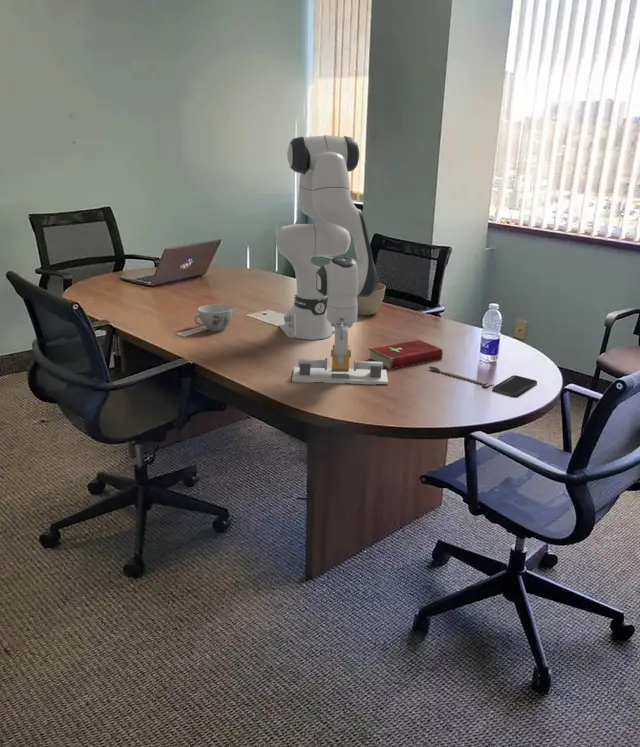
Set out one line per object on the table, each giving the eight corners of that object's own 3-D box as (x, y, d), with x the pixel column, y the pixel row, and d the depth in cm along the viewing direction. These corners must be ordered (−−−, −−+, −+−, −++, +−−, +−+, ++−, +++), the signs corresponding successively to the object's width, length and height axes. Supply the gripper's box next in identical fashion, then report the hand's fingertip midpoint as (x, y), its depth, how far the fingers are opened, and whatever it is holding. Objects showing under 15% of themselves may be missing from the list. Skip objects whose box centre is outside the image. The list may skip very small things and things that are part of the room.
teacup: (222, 322, 251) (221, 301, 248) (240, 330, 242) (239, 308, 239) (186, 329, 242) (185, 307, 239) (203, 337, 233) (202, 315, 230)
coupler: (330, 368, 196) (331, 349, 194) (330, 363, 200) (331, 344, 198) (350, 368, 196) (351, 349, 194) (350, 364, 199) (350, 345, 197)
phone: (491, 388, 191) (513, 374, 202) (490, 391, 192) (513, 378, 202) (516, 395, 186) (538, 381, 197) (516, 399, 187) (538, 384, 198)
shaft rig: (292, 381, 195) (292, 363, 193) (294, 370, 204) (294, 352, 202) (387, 384, 194) (389, 366, 192) (386, 372, 203) (387, 354, 201)
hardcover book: (442, 360, 217) (443, 348, 215) (390, 371, 206) (391, 358, 205) (418, 349, 226) (419, 338, 225) (368, 359, 216) (368, 347, 214)
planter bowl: (335, 311, 269) (336, 285, 265) (364, 305, 279) (365, 279, 275) (364, 320, 258) (365, 292, 254) (392, 313, 268) (394, 286, 264)
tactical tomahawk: (497, 386, 198) (498, 382, 197) (486, 390, 193) (486, 386, 193) (438, 367, 211) (439, 363, 211) (426, 370, 206) (427, 367, 206)
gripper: (353, 324, 182) (351, 372, 187) (352, 305, 202) (351, 349, 206) (330, 324, 183) (329, 371, 187) (331, 305, 202) (330, 348, 207)
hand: (340, 359), depth 197 cm, fingers closed on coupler, 4 cm apart
